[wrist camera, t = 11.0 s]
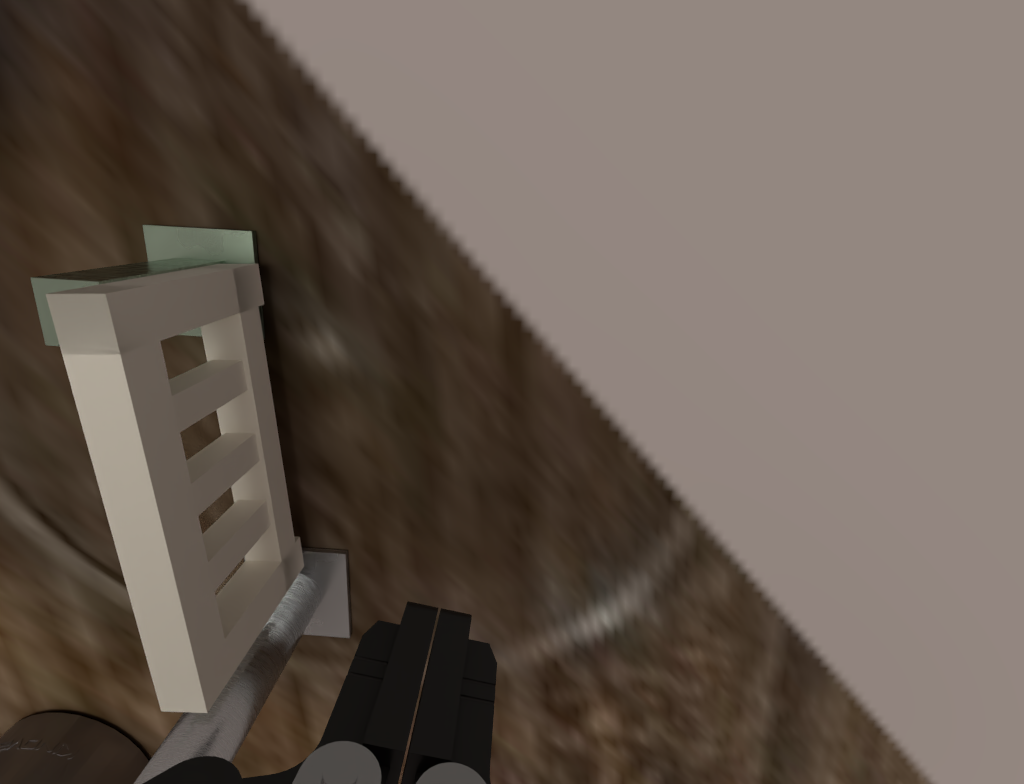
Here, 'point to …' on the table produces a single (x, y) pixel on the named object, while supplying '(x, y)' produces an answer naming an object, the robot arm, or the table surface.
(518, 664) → the table surface
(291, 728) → the table surface
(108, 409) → the gate
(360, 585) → the table surface
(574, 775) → the table surface
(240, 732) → the gate posts
